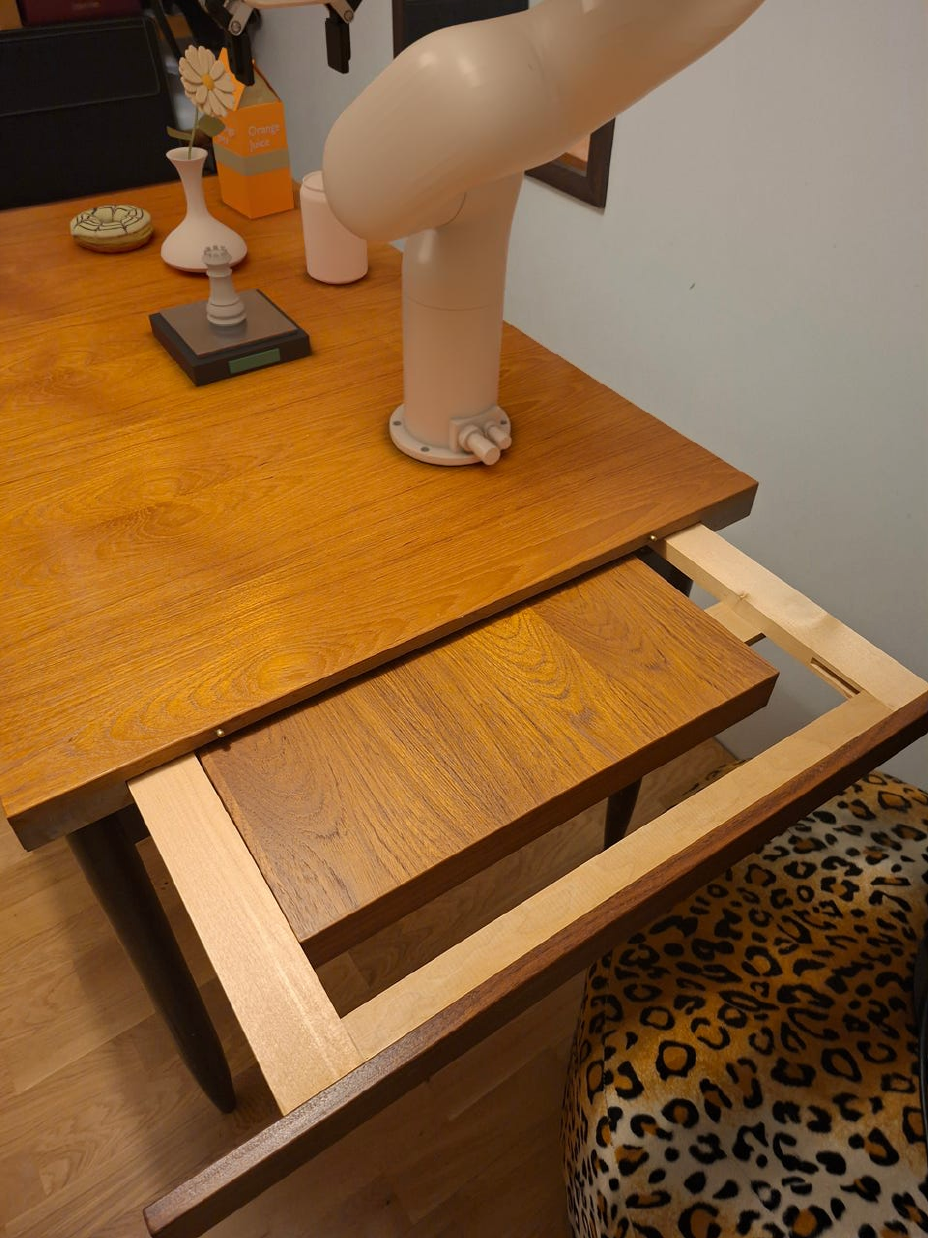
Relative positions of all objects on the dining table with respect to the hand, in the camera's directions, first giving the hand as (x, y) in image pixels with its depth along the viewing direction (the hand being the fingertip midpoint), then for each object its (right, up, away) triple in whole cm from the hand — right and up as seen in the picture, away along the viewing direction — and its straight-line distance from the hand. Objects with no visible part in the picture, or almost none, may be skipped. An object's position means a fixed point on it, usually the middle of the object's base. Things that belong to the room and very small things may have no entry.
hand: (292, 76), depth 82 cm
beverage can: (-1, -5, +35) cm, 36 cm away
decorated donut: (-33, +2, +41) cm, 53 cm away
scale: (-11, -19, +21) cm, 30 cm away
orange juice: (-16, +12, +52) cm, 56 cm away
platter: (-11, -17, +19) cm, 28 cm away
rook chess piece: (-11, -17, +19) cm, 27 cm away
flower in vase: (-18, -2, +37) cm, 41 cm away
